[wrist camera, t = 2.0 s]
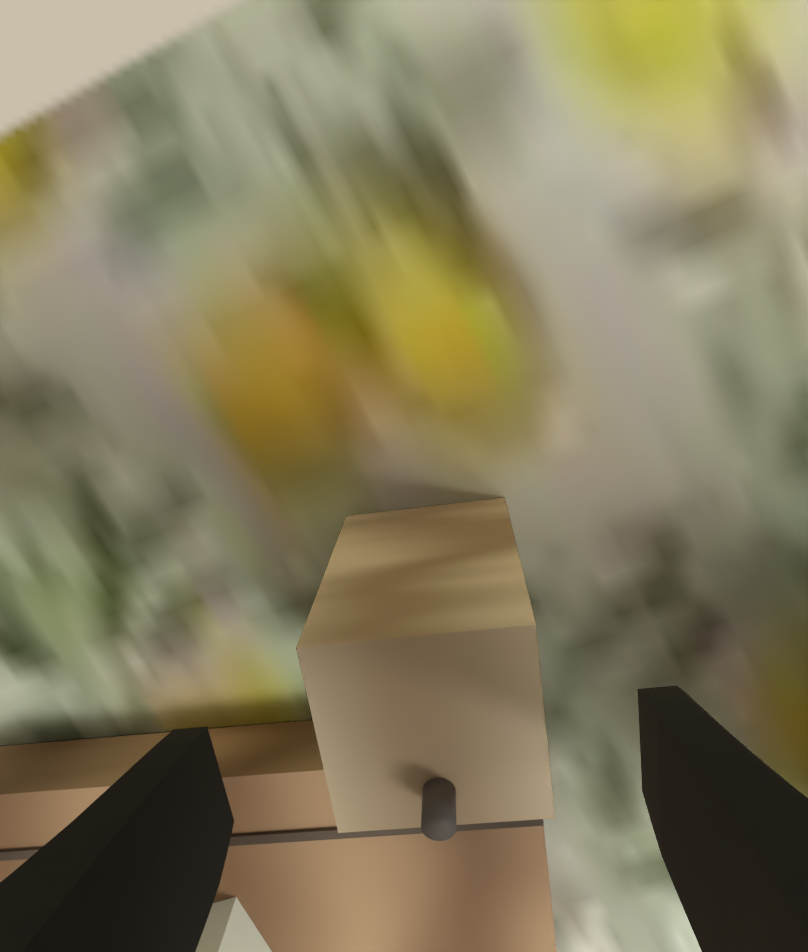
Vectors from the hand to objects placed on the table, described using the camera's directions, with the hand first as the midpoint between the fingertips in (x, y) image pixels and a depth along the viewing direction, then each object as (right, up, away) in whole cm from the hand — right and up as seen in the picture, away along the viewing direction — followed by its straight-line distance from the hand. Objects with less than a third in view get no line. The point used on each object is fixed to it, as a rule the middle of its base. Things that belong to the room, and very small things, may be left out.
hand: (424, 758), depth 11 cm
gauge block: (+1, +2, +6) cm, 7 cm away
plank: (-4, -7, +9) cm, 12 cm away
